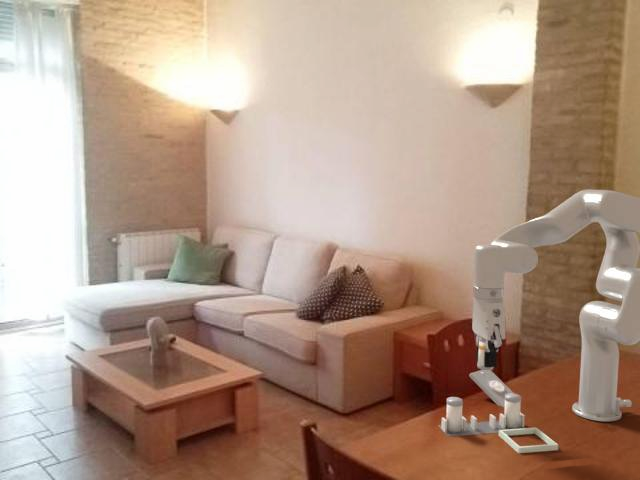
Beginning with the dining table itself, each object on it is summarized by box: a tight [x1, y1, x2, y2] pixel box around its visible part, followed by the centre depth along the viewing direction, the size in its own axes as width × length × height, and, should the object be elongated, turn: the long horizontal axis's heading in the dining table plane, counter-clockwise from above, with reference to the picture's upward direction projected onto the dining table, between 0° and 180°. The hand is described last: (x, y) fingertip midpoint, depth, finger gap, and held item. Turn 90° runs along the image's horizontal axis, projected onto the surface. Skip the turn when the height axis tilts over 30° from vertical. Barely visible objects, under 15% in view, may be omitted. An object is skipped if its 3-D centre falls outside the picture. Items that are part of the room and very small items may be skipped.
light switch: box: [469, 369, 514, 408], centre depth 185 cm, size 8×6×14 cm
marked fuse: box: [476, 336, 494, 371], centre depth 161 cm, size 4×4×8 cm
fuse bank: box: [437, 392, 527, 438], centre depth 163 cm, size 22×7×9 cm, turn 101°
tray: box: [498, 427, 559, 454], centre depth 155 cm, size 10×10×2 cm
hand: (486, 363), depth 161 cm, fingers closed on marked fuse, 3 cm apart
